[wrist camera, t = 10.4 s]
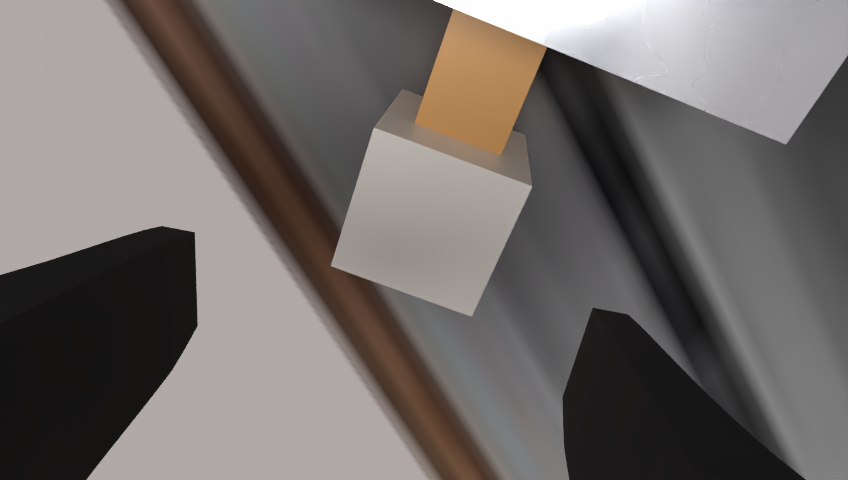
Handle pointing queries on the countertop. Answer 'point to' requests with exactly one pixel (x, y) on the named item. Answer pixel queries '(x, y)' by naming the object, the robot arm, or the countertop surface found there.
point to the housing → (696, 49)
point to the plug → (446, 171)
